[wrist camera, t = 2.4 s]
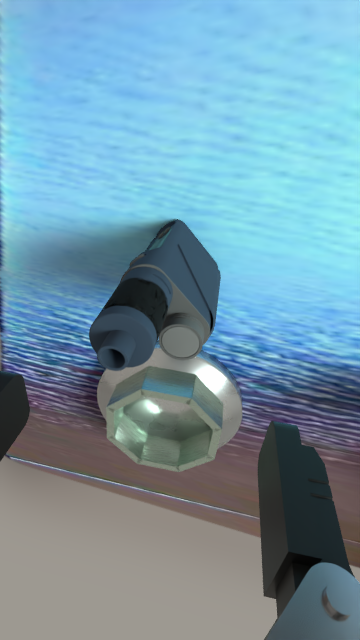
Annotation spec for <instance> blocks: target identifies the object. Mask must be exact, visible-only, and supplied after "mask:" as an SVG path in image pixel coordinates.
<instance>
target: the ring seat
mask: <svg viewBox="0 0 360 640" xmlns="http://www.w3.org/2000/svg"><path fill="white" fill-rule="evenodd" d="M97 400H98V405H99V408H100V410H101V413H102V415H103V416H104V418H105V419H106V421H107V439H109V440H110V441H111V442H112V443H113V444H115V445H116V446H117V447H118V448H119V449H120V450H122V451H123V452H124V453H125V454H126V455H128V456H129V457H130V458H131V459H132V460H134V461H135V462H136V463H137V464H142V465H147V466H152V467H157V468H162V469H167V470H172V471H177V472H181V471H183V470H186V469H189V468H192V467H195V466H198V465H200V464H203V463H206V462H209V461H212V460H214V459H215V455H216V451H217V449H218V448H220V447H221V446H223V445H225V444H226V443H227V442H228V441H230V440H231V438H232V437H233V436H234V435H235V434H236V432H237V431H238V429H239V426H240V424H241V419H242V395H241V390H240V388H239V385H238V383H237V381H236V379H235V377H234V376H233V375H232V373H231V372H230V371H229V370H228V369H227V368H226V367H225V366H224V365H223V364H222V363H221V362H220V361H219V360H217V359H216V358H215V357H213V356H211V355H210V354H208V353H206V352H204V351H202V350H201V351H200V353H199V354H198V355H197V356H195V357H194V358H192V359H188V360H177V359H174V358H171V357H169V356H168V355H166V354H165V353H164V352H163V351H162V349H161V347H160V345H159V341H157V342H156V345H155V348H154V351H153V354H152V355H151V357H150V358H149V360H148V361H146V362H145V363H144V364H142V365H140V366H136V367H130V368H127V367H126V368H125V369H123V370H120V371H112V370H109V369H107V368H106V369H105V371H104V373H103V374H102V376H101V379H100V381H99V384H98V388H97Z"/></svg>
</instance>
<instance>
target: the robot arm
mask: <svg viewBox="0 0 360 640" xmlns="http://www.w3.org/2000/svg"><path fill="white" fill-rule="evenodd" d="M29 412H30V407H29V402H28V397H27V392H26V387H25V383H24V378H23V376H22V375H19V374H14V373H8V372H3V371H0V461H1V460H2V458H3V457H4V455H5V454H6V452H7V451H8V449H9V448H10V447H11V445H12V444H13V442H14V441H15V439H16V438H17V437H18V435H19V434H20V432H21V431H22V429H23V428H24V426H25V425H26V423H27V420H28V417H29ZM258 487H259V508H260V528H261V549H262V568H263V589H264V596H266V597H270V598H274V599H276V603H277V616H278V618H277V620H276V621H275V623H274V625H273V626H272V628H271V629H270V631H269V633H268V634H267V636H266V637H265V639H264V640H360V584H359V582H358V581H357V580H356V579H355V577H354V575H353V573H352V571H351V569H350V566H349V563H348V559H347V555H346V551H345V547H344V543H343V539H342V535H341V530H340V526H339V522H338V518H337V514H336V510H335V506H334V501H332V493H331V489H330V486H329V481H328V477H327V472H326V468H325V464H324V463H323V461H322V459H321V458H320V456H319V455H318V453H317V452H316V450H315V449H314V447H310V446H304V445H301V440H300V434H299V429H298V427H297V426H296V425H291V424H285V423H280V422H274V421H271V423H270V425H269V427H268V430H267V433H266V436H265V439H264V442H263V445H262V448H261V451H260V454H259V460H258Z"/></svg>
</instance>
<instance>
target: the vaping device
mask: <svg viewBox="0 0 360 640" xmlns="http://www.w3.org/2000/svg"><path fill="white" fill-rule="evenodd" d="M220 278H221V277H220V271H219V270H218V266H217V264H216V262H215V261H214V259H213V258H212V257H211V256H210V254H209V253H208V252H207V251H206V249H205V248H204V247H203V246H202V244H201V243H200V242H199V241H198V239H197V238H196V237H195V236H194V234H193V233H192V232H191V230H190V229H189V228H188V227H187V225H186V224H185V223H184V222H182V221H181V220H178V219H177V221H174V222H171V223H168V224H166V225H165V226H164V227H163V228H161V230H160V231H159V232H158V234H157V236H156V238H154V239H153V241H152V242H151V244H150V245H149V247H148V248H147V250H146V251H145V252H143V253H142V254H140V255H139V256H138V257H136V258H135V259H134V260H133V261H132V262H131V263H130V267H129V269H128V270H127V272H125V274H124V275H123V277H122V279H121V282H120V284H119V286H118V287H117V289H116V290H115V291H114V293H113V294H112V296H111V297H110V299H109V300H108V302H107V303H106V305H105V306H104V308H105V309H104V308H103V309H102V311H101V312H100V313H99V315H98V316H97V318H96V319H95V321H94V322H93V324H92V325H91V328H90V332H89V338H90V342H91V345H92V347H93V349H94V350H95V352H96V353H97V358H98V360H99V362H100V364H101V365H102V366H104V367H105V368H107V369H109V370H112V371H120V370H123V369H125V368H126V367H127V368H130V367H136V366H140V365H142V364H144V363H145V362H146V361H148V360H149V358H150V357H151V355H152V354H153V351H154V348H155V345H156V342H157V340H158V337H159V345H160V347H161V349H162V351H163V352H164V353H165V354H166V355H168V356H169V357H171V358H174V359H177V360H188V359H192V358H194V357H195V356H197V355H198V354H199V353H200V351H201V349H202V345H203V344H205V342H206V341H207V340H208V338H209V337H210V335H211V334H212V332H213V330H214V326H215V320H216V311H217V303H218V295H219V286H220ZM114 304H115V305H114Z"/></svg>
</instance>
